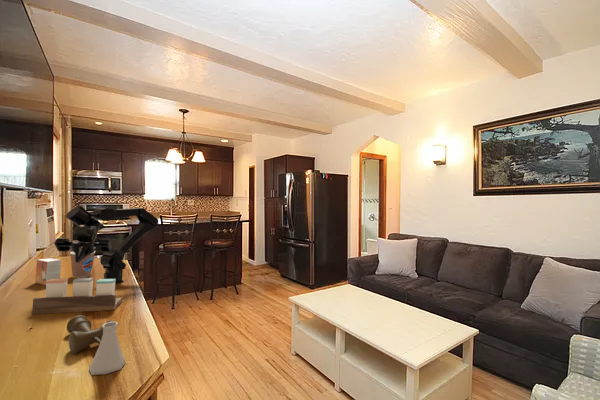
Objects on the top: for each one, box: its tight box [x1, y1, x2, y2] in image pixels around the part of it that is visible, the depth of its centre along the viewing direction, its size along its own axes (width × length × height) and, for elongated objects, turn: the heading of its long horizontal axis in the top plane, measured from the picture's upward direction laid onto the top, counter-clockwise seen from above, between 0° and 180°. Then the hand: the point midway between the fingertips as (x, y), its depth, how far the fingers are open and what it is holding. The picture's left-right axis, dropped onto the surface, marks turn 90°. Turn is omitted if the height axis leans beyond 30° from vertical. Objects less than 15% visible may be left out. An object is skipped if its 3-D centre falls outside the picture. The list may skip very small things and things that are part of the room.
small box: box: [34, 257, 62, 286], centre depth 130 cm, size 8×6×10 cm
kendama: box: [66, 315, 114, 355], centre depth 78 cm, size 6×10×20 cm
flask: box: [89, 321, 126, 376], centre depth 68 cm, size 7×7×10 cm
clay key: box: [44, 277, 69, 298], centre depth 102 cm, size 3×5×8 cm, turn 106°
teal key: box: [95, 278, 116, 296], centre depth 104 cm, size 3×5×8 cm, turn 106°
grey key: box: [72, 277, 95, 296], centre depth 104 cm, size 3×5×8 cm, turn 106°
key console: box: [31, 294, 123, 315], centre depth 103 cm, size 9×24×5 cm, turn 106°
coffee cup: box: [69, 250, 96, 279], centre depth 144 cm, size 10×10×12 cm
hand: (76, 262), depth 113 cm, fingers closed
